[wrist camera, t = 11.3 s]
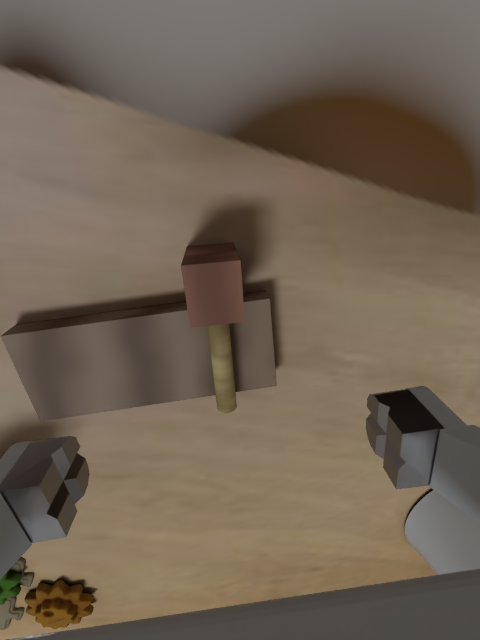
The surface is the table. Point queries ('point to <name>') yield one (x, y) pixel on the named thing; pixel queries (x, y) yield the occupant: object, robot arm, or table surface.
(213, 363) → the toy wooden hammer
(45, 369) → the walnut board
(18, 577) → the gear puzzle
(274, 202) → the table surface
